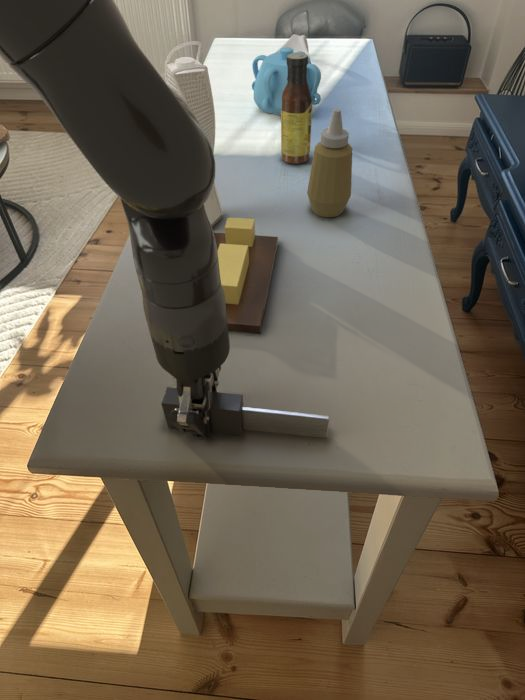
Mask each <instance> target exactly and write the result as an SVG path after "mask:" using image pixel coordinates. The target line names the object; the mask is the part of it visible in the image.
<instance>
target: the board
mask: <svg viewBox="0 0 525 700" xmlns="http://www.w3.org/2000/svg"><path fill="white" fill-rule="evenodd" d="M213 233H214V236H215V240H216V245H217V251H218V248H219V245H220V244H226V237H225V232H214V231H213ZM278 246H279V236H274V235H273V236H271V235H256V234H255V239H254V243H253V247H248V251H249V265H248V269H247V273H246V277H245V281H244V285H243V289H242V293H241V297H240V300H239V304H238V305H237V304H226V314H227V323H228V331H229V332H230V331H231V332H243V333H253V334H261V330H262V325H263V321H264V315H265V311H266V305H267V301H268V295H269V290H270V286H271V281H272V276H273V270H274V265H275V260H276V255H277V250H278Z"/></svg>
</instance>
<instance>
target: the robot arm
mask: <svg viewBox="0 0 525 700" xmlns="http://www.w3.org/2000/svg"><path fill="white" fill-rule="evenodd" d="M0 58H1V59H2V61H4V63H5V64H7V65H8V66H9V68H11V70H12V71H14V73H15V74H17V76H18V77H19V78H21V79H22V80H23V82H25V84H27V85H28V86H29V87H30V88H31V89H32V90H33V91H34V92H35V93H36V95H37V96H38V97H39V98H40V99H41V100H42V101H43V103H44V104H45V105H46V107H47V108H48V109H49V110H50V111H51V114H52V115H53V116H54V118H55V119H56V121H57V122H58V123H59V124H60V126H61V128H62V129H63V130H64V132H65V133H66V134H67V136H68V137H69V138H70V140H71V141H72V142H73V143H74V146H76V147H77V149H78V150H79V152H80V153H81V154H82V155H83V156H84V158H85V159H86V161H87V162H88V163H89V164H90V166H91V167H92V168H93V169H94V171H95V172H96V174H98V175H99V177H100V178H101V179H102V181H103V182H104V183H105V184H106V185H107V186H108V188H110V190H111V191H112V192H113V193H114V194H115V195H116V196H117V197H118V198H119V199H120V202H121V203H120V204H121V205H122V209H123V212H124V215H125V219H126V221H127V226H128V230H129V237H130V244H131V252H132V259H133V263H134V269H135V272H136V275H137V278H138V284H139V287H140V291H141V295H142V296H141V297H142V306H143V312H144V316H145V321H146V323H147V327H148V331H149V335H150V339H151V342H152V346H153V349H154V353H155V357H156V360H157V363H158V364H159V365H160V367H161V368H162V369H163V370H164V371H165V372H167V373H168V374H170V375H171V376H172V377H173V380H174V386H175V388H177V394H178V397H179V405H180V407H179V408H176V409H175V410H172V411H171V413H170V416H169V418H170V422H171V423H172V424H173V425H174V426H175V427H177V428H178V429H177V430H179V431H180V432H181V433H191V435H192V436H193V438H196V439H202V440H203V439H204V440H207V439H210V438H211V437H212V434H213V433H212V429H211V423H210V416H209V409H210V407H211V404H212V392H218V389H217V388H218V386H219V375H220V372H221V370H222V365H223V364H224V363H225V362H226V360H227V359H228V356H229V354H230V349H231V345H230V344H231V343H230V333H229V330H228V323H227V314H226V303H225V295H224V291H223V288H222V284H221V280H220V271H219V261H218V253H217V245H216V240H215V236H214V233H213V232H214V230H213V227H211V224H210V222H209V219H208V217H207V214H206V211H205V207H204V203H205V202H206V200H207V199H208V197H209V195H210V193H211V191H212V188H213V185H214V183H215V179H216V159H215V154H214V153H213V150H212V147H211V144H210V142H209V140H208V138H207V136H206V135H205V133H204V131H203V129H202V128H201V126H200V124H199V123H198V121H197V119H196V117H195V115H194V114H193V112H192V110H191V109H190V107H189V106H188V104H187V103H186V102H185V101H184V99H183V98H182V97H181V96H180V95H179V94H177V93H176V92H175V91H173V90H172V89H170V88H169V87H168V85H167V84H166V83H165V79H163V77H162V76H161V75H160V73H159V71H158V70H157V69H156V68H155V66H154V65H153V64H152V63H151V61H150V60H149V58H148V56H146V55H145V53H144V52H143V50H142V49H141V47H140V46H139V45H138V43H137V41H136V40H135V39H134V36H133V33H132V32H131V31H130V29H129V27H128V24H127V22H126V20H125V18H124V15H122V13H121V11H120V8H119V7H118V6H117V4H116V2H115V0H0ZM193 409H200V410H201V411H202V412H199V411H198V410H193Z"/></svg>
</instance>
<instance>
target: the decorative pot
mask: <svg viewBox="0 0 525 700" xmlns="http://www.w3.org/2000/svg"><path fill="white" fill-rule="evenodd" d="M280 48H281V47H280ZM280 48H279V49H280ZM292 53H296V52H293V49H292V48H289V47H284V48H281V49H280V52H277V51H275V52H273V53H271V54H268V55H266V54H260V55H257V56H256V57H255V58H254V59H253V60H252V64H251V65H252V73H253V76H254V81H252V83H251V89H252V91H253V100H254V102H255V105H256V106H257V107H258V109H259V110H261V111H262V112H263V113H266V114H269V113H270V114H274V115H280V116H281V108H282V92H283V90H284V88H285V86H286V85H287V82H288V81H287V77H288V66H287V55H289V54H292ZM297 53H304V52H302V51H299V52H297ZM304 54H305V53H304ZM259 61H262V62H261V64H260V67H259V64H258V63H259ZM321 81H322V72H321V70H320V68H319V67H318V66H317V65H315V64H314V63H312V61H311V57H310V58H309V57H308V64H307V82H308V86H309V90H310V94H311V98H312V106H317V105H319V104H320V103H321V100H322V98H321V94H319V93H318V89H319V86H320V83H321Z"/></svg>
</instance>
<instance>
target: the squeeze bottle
mask: <svg viewBox="0 0 525 700" xmlns="http://www.w3.org/2000/svg"><path fill="white" fill-rule="evenodd" d="M342 117H343V116H342V110H341V109H340V108H334V109H333V110H332V114H331V117H330V120H329V124H328V127H326V128H325V129H322V131H320V141H319V142H318V143H316V145H314V150H313V155H312V162H311V166H310V167H311V168H310V172H309V173H310V174H309V178H308V179H309V180H308V185H307V191H306V193H307V196H308V200H309V205H310V208H311V210H312V212H313V214H315V215H317V216H318V217H321V218H322V217H323V218H334V217H337V216H340V215H342V213H343V212H344V210H345V208H346V206H347V204H348V202H349V200H350V199H351V196H352V175H353V174H352V173H353V172H352V171H353V147H352V145H350V144H349V137H350V135H349V134H350V133H349V131H348V130H346V129H344V128H343V118H342Z"/></svg>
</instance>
